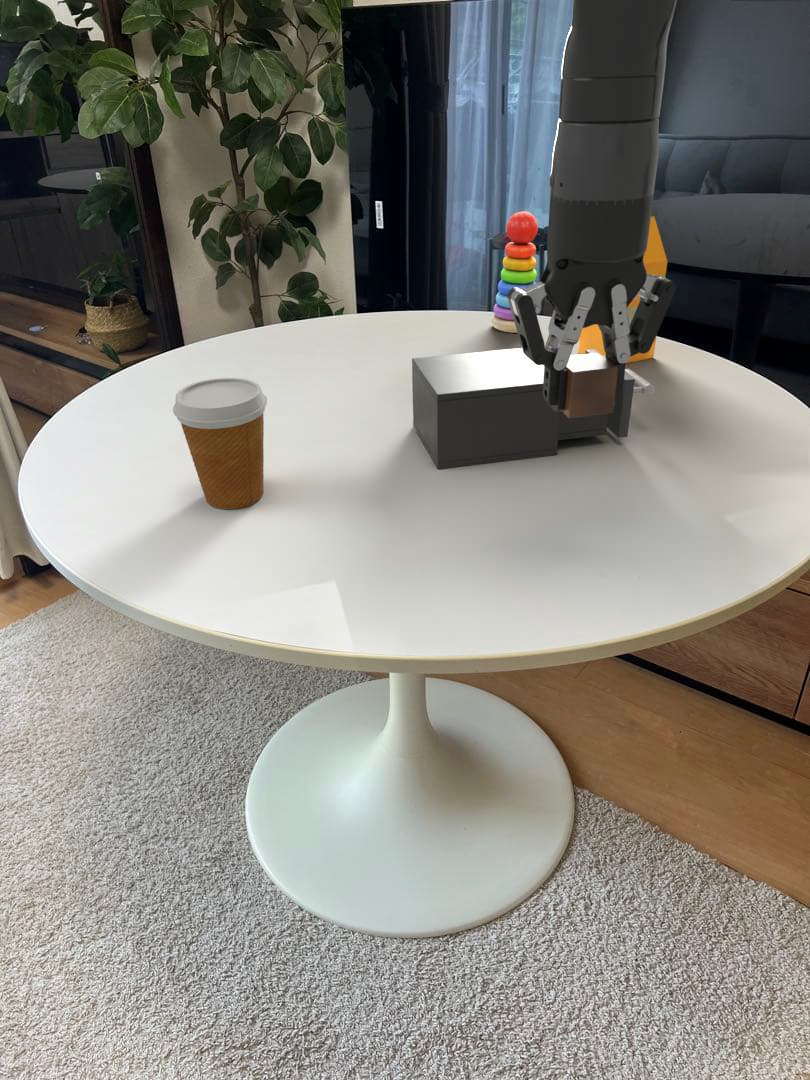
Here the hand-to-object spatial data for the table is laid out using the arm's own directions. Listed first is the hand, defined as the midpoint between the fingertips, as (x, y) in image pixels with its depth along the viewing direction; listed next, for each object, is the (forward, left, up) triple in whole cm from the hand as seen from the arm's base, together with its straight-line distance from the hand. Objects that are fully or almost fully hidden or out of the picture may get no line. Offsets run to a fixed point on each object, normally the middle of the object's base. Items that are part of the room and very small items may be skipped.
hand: (581, 404), depth 67 cm
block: (0, 0, 0) cm, 0 cm away
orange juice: (+1, -59, -15) cm, 61 cm away
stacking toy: (+19, -70, -15) cm, 74 cm away
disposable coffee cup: (+37, -2, -15) cm, 40 cm away
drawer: (+3, -29, -14) cm, 32 cm away
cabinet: (+14, -23, -15) cm, 30 cm away
